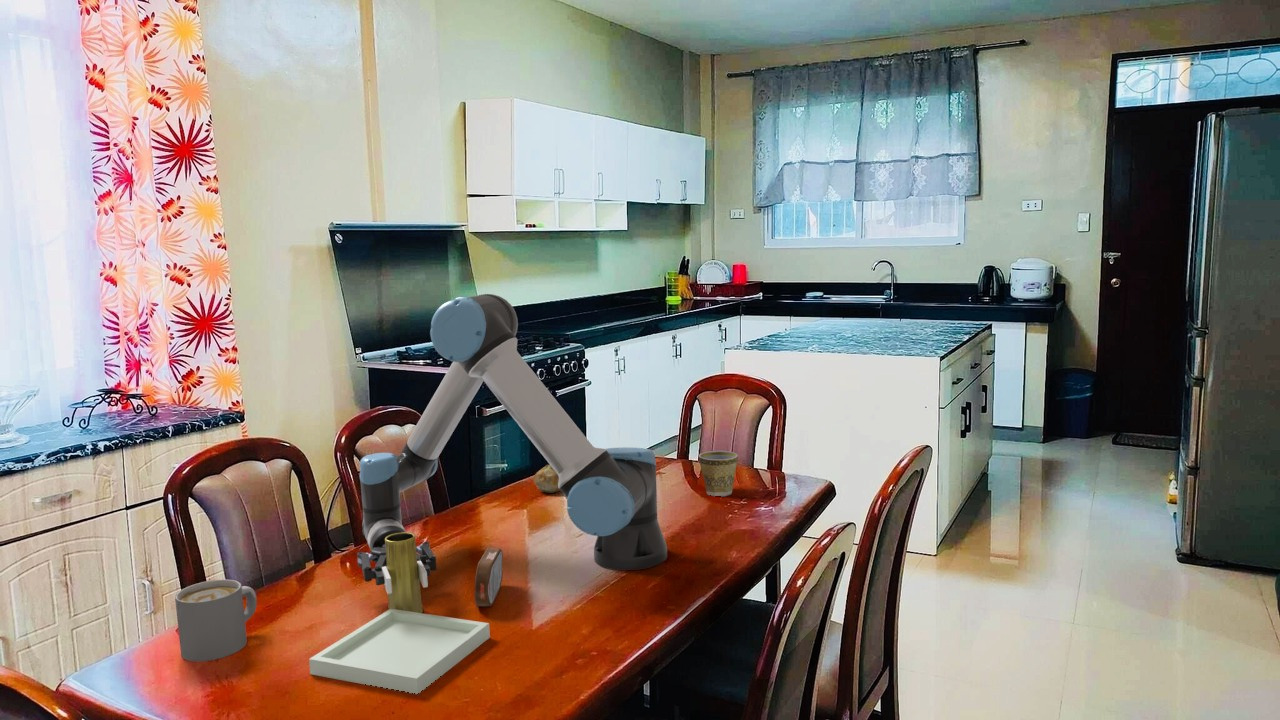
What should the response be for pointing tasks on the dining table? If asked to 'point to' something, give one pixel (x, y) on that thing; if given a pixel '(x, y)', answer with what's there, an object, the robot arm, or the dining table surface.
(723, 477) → the ceramic cup
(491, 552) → the tin
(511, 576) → the dining table surface
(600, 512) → the robot arm
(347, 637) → the tray
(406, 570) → the vase
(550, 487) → the onion
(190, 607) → the coffee mug
